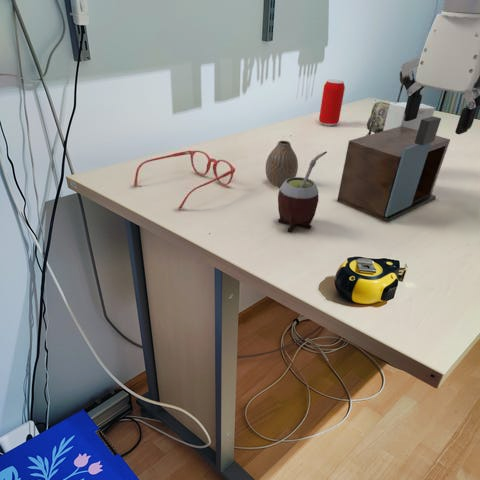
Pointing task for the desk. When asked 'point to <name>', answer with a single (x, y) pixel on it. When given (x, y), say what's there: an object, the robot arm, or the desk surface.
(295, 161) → the vase
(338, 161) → the desk surface
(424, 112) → the cosmetic box
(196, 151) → the red eyeglasses
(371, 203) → the cabinet
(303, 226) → the mate gourd
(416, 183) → the sliding door
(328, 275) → the desk surface
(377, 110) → the camouflage trail camera
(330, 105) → the beverage can
